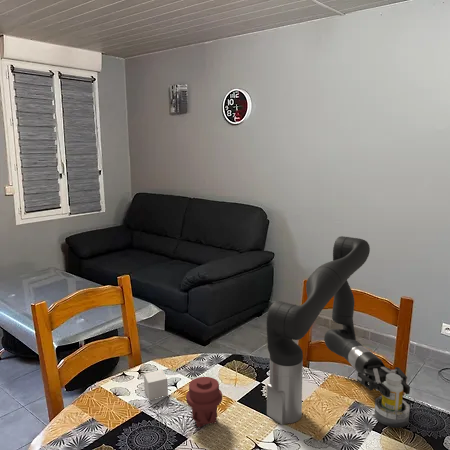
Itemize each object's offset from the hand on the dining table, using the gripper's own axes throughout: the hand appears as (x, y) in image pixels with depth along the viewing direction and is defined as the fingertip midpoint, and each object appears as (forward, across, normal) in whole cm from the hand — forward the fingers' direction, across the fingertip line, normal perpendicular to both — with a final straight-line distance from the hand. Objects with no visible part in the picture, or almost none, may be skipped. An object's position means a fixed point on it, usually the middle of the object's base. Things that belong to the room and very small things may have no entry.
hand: (398, 392), depth 115 cm
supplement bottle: (-3, 0, +6) cm, 7 cm away
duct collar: (-2, 0, +9) cm, 10 cm away
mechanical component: (-14, -52, +10) cm, 54 cm away
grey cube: (-31, -64, +10) cm, 72 cm away
